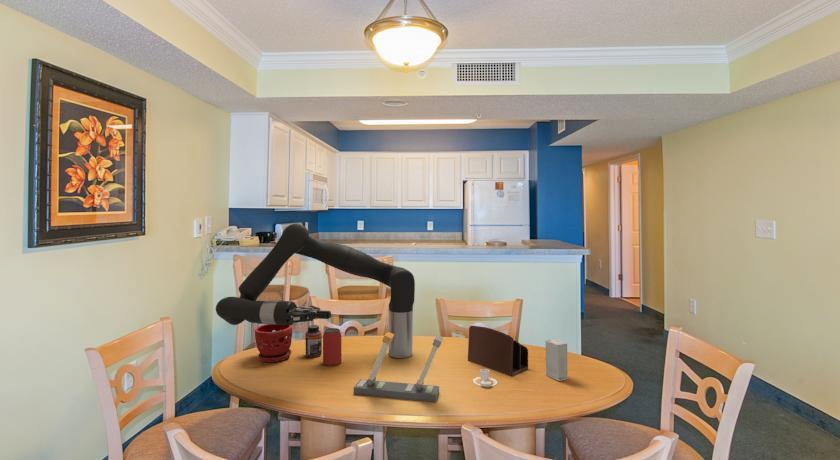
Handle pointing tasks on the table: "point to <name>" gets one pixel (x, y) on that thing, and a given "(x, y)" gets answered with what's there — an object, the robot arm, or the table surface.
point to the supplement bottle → (313, 341)
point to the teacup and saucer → (485, 379)
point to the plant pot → (273, 342)
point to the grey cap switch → (429, 362)
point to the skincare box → (556, 359)
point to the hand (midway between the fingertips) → (330, 314)
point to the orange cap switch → (380, 358)
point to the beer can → (332, 346)
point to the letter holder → (496, 351)
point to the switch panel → (397, 390)
